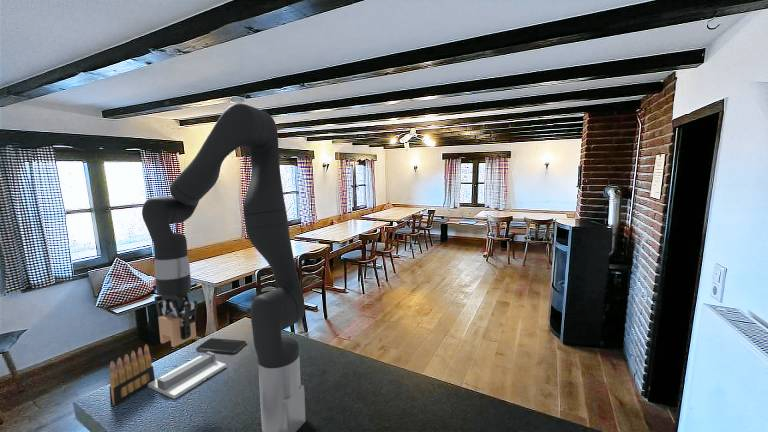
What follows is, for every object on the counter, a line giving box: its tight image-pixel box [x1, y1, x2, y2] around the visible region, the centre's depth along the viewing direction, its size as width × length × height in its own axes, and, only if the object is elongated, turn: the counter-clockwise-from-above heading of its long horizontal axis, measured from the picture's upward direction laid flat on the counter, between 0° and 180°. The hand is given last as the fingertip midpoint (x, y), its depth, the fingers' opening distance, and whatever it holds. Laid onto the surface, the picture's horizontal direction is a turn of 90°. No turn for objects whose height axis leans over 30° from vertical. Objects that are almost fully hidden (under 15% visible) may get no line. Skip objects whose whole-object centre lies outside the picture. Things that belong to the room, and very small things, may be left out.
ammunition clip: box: [109, 344, 156, 407], centre depth 88 cm, size 11×2×12 cm, turn 162°
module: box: [157, 310, 197, 348], centre depth 84 cm, size 5×6×7 cm
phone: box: [195, 337, 247, 356], centre depth 113 cm, size 8×1×15 cm
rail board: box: [147, 351, 227, 400], centre depth 96 cm, size 12×16×4 cm
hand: (178, 335), depth 84 cm, fingers closed on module, 5 cm apart
